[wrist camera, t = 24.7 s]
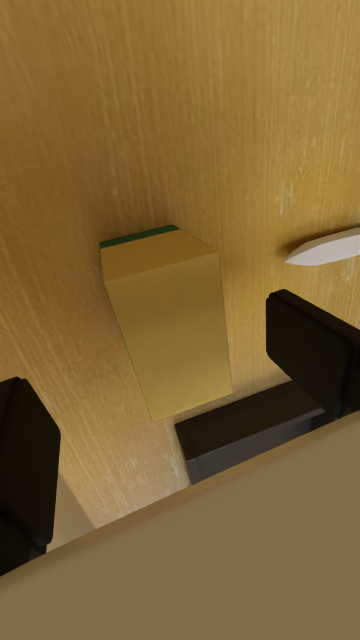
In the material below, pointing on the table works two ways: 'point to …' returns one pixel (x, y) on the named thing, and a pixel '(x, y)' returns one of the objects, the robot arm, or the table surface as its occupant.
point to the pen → (327, 249)
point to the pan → (247, 429)
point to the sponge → (170, 316)
